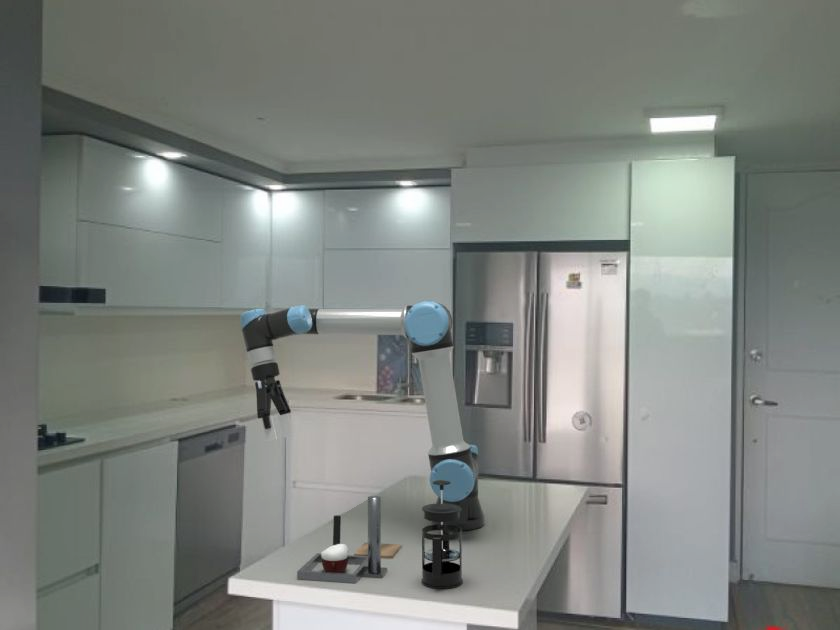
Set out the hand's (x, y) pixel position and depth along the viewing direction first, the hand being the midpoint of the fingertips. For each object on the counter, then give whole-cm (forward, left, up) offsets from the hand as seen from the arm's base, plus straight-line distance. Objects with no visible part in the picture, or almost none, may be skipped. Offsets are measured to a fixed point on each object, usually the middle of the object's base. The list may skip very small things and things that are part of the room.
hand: (280, 438), depth 220 cm
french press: (-51, +31, -27) cm, 65 cm away
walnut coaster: (-31, +11, -26) cm, 42 cm away
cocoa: (-25, +28, -27) cm, 46 cm away
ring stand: (-27, +28, -26) cm, 47 cm away
